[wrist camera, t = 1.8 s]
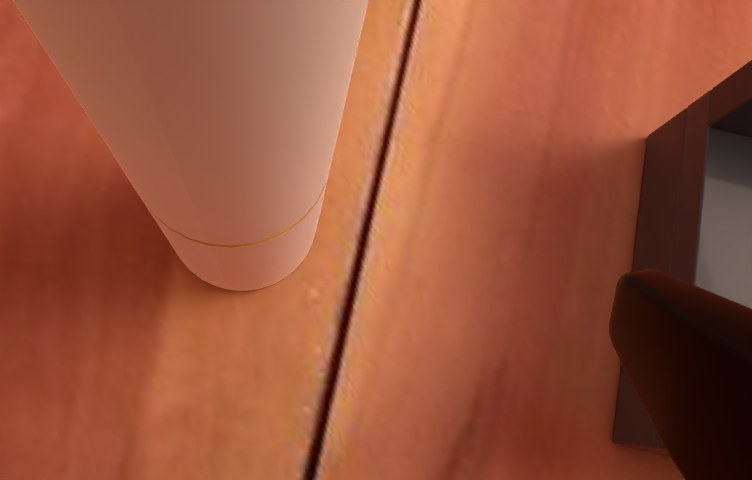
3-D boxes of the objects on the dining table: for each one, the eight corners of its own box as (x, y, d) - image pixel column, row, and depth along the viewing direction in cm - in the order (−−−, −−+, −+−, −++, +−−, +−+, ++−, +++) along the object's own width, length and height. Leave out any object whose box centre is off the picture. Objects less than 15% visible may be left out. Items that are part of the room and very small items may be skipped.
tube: (301, 303, 20) (372, 27, 5) (152, 276, 19) (-206, -103, 5) (328, 165, 21) (444, -370, 6) (187, 137, 21) (-23, -503, 6)
